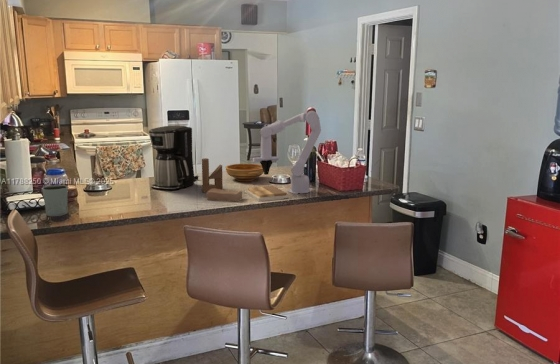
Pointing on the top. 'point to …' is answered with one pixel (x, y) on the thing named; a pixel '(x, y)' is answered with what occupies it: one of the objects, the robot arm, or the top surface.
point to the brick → (224, 195)
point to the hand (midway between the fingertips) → (266, 174)
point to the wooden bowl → (244, 171)
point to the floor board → (277, 195)
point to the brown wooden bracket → (211, 177)
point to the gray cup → (55, 200)
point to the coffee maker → (173, 157)
